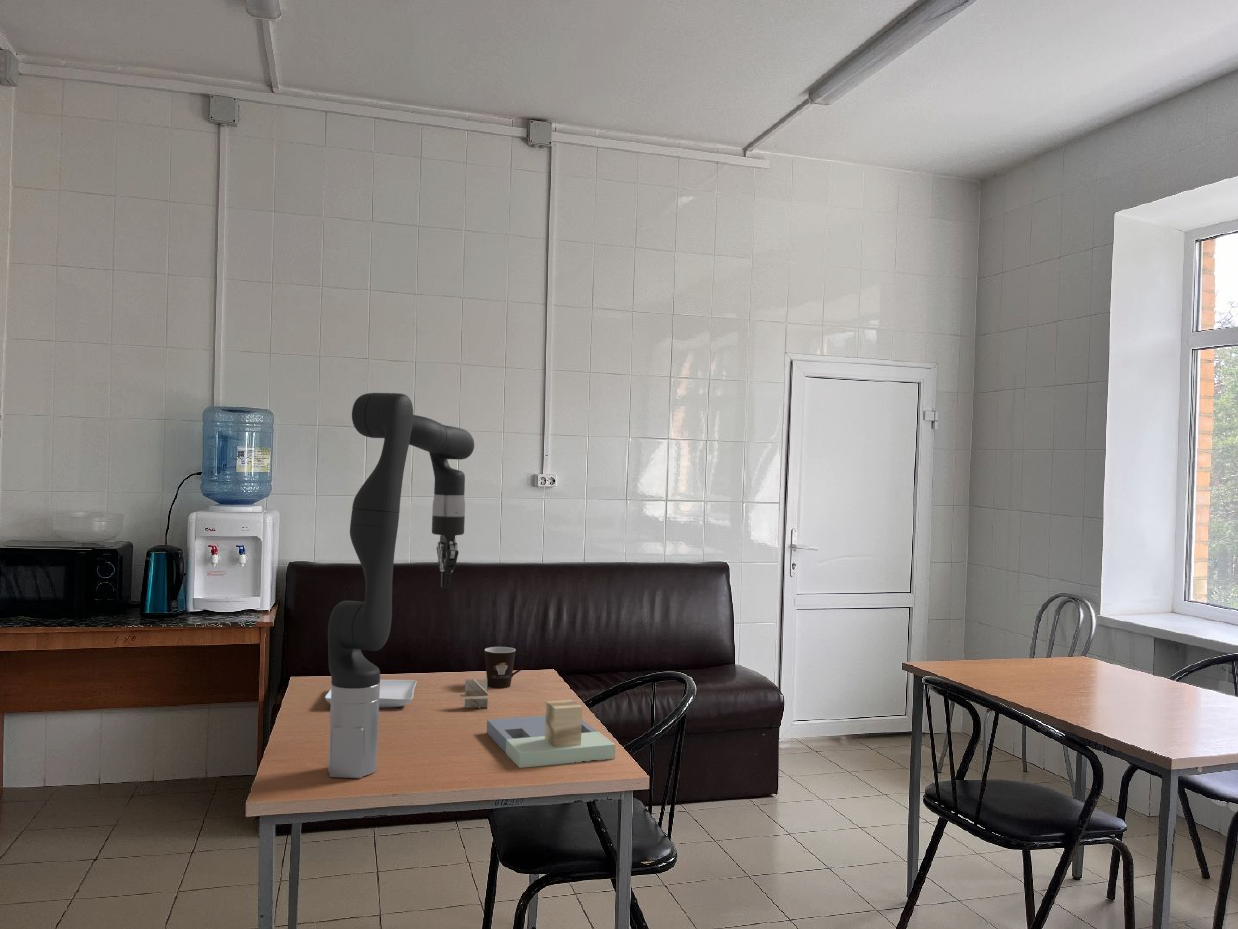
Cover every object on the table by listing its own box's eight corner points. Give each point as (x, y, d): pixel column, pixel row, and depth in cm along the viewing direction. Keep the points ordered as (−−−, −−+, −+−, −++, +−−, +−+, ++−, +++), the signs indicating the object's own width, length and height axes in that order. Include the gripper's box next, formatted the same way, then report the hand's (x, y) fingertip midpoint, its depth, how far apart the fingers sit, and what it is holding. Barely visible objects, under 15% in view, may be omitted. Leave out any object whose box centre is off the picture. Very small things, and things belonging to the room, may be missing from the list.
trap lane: (615, 758, 195) (615, 744, 195) (519, 768, 186) (519, 753, 186) (573, 725, 219) (573, 713, 219) (486, 732, 210) (487, 719, 210)
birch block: (580, 744, 194) (582, 706, 194) (554, 747, 191) (555, 708, 191) (571, 736, 199) (572, 699, 199) (544, 739, 197) (546, 701, 197)
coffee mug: (479, 688, 253) (480, 651, 253) (488, 681, 261) (490, 646, 261) (520, 691, 251) (521, 654, 251) (528, 684, 259) (529, 648, 259)
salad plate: (416, 691, 249) (417, 678, 249) (412, 711, 228) (412, 697, 228) (335, 691, 245) (336, 678, 245) (323, 712, 224) (323, 698, 224)
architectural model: (488, 712, 230) (489, 682, 230) (460, 712, 229) (461, 682, 229) (487, 708, 233) (488, 679, 233) (459, 708, 232) (460, 679, 232)
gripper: (471, 516, 212) (468, 591, 212) (458, 512, 224) (455, 584, 224) (438, 515, 209) (435, 592, 209) (427, 512, 221) (424, 584, 221)
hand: (446, 587), depth 216 cm, fingers closed
